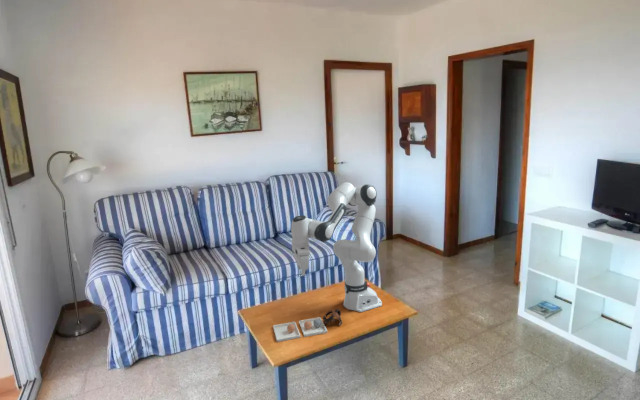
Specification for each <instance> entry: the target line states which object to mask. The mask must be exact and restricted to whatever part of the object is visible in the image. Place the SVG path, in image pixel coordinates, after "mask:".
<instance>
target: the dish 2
mask: <svg viewBox="0 0 640 400" xmlns="http://www.w3.org/2000/svg"><path fill="white" fill-rule="evenodd" d="M316 319H318V320H320V321H321V325H320V327H315V326H314V324H313V323H314V321H315V320H316ZM306 321H310V322H311V323H312V327H311V328H310V329H306V328H305V327H304V323H305V322H306ZM298 325H299V326H300V330H301V331H302V334H303V337H304V338H305V337H307V338H308V337H311V336H312V337H313V336H317V335H321V334H328V329H327V327H326V326H325V324H324V320H323V318H322V317H321V316H320V317H313V318H308V319H302V320H298Z"/></svg>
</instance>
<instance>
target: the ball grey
mask: <svg viewBox="0 0 640 400" xmlns="http://www.w3.org/2000/svg"><path fill="white" fill-rule="evenodd" d="M313 324H314V326H315V327H320V325H321V321H320V320H318V319H316V320H315V321H314V323H313Z"/></svg>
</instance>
